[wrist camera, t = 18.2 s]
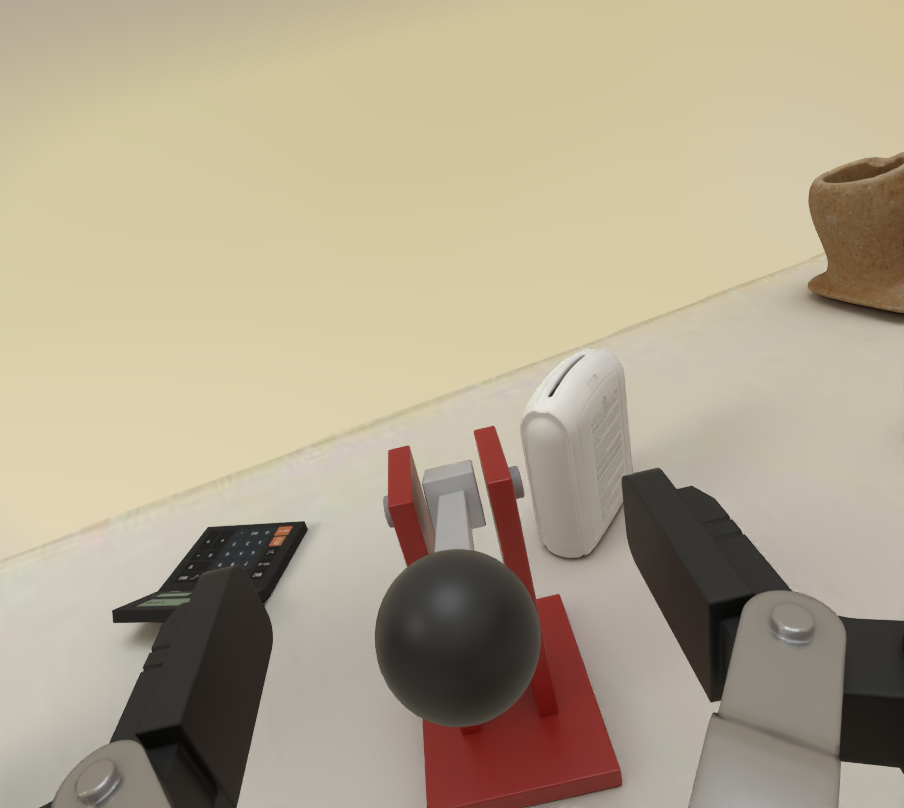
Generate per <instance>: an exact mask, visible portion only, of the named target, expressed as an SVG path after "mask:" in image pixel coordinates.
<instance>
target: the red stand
mask: <svg viewBox="0 0 904 808" xmlns="http://www.w3.org/2000/svg"><path fill="white" fill-rule="evenodd" d="M474 436H475V440H476V445H477V449H478V453H479V458H480V462H481V467H482V471H483V475H484V480H485V484H486V489H487V493H488V497H489V502H490V506H491V511H492V515H493V519H494V524H495V528H496V533H497V537H498V541H499V546H500V550H501V555H502V559H503V564H504V565H506V566H507V567H508V568H509V569H510V570H512V571H513V572H514V573H515V574H516V575H517V577H518V578H519V579H520V580H521V581H522V582H523V584H524V585H525V587H526V589H527V590H528V592H529V594H530V596H531V598H532V600H533V602H534V604H535V607H536V610H537V614H538V618H539V624H540V630H541V645H540V654H539V659H538V663H537V667H536V670H535V673H534V675H533V677H532V679H531V681H530V683H529V685H528V687H527V688H526V690H525V691H524V693H523V694H522V696H521V697H520V698H519V699H518V700H517V701H516V702H515V703H514V704H513V705H512V706H511V707H510V708H509V709H508V710H507V711H505V712H504V713H502V714H501V715H499V716H497V717H496V718H494V719H492V720H490V721H487V722H485V723H482V724H478V725H474V726H468V727H447V726H442V725H438V724H434V723H431V722H429V721H427V720H425V719H423V737H424V757H425V776H426V796H427V808H523V807H527V806H532V805H536V804H541V803H545V802H549V801H554V800H558V799H563V798H567V797H572V796H576V795H581V794H585V793H590V792H594V791H599V790H603V789H608V788H612V787H617V786H621V785H622V778H621V771H620V767H619V764H618V762H617V759H616V756H615V753H614V750H613V747H612V744H611V741H610V739H609V736H608V733H607V730H606V727H605V724H604V721H603V718H602V715H601V713H600V710H599V707H598V704H597V701H596V698H595V695H594V692H593V689H592V687H591V684H590V681H589V678H588V675H587V672H586V669H585V666H584V663H583V661H582V658H581V655H580V652H579V649H578V646H577V643H576V640H575V637H574V635H573V632H572V629H571V626H570V623H569V620H568V617H567V614H566V612H565V609H564V606H563V603H562V600H561V597H560V595H559V594H557V595H553V596H548V597H544V598H540V599H536V596H535V591H534V586H533V581H532V577H531V572H530V567H529V562H528V557H527V552H526V547H525V542H524V537H523V532H522V527H521V522H520V517H519V512H518V507H517V502H516V499H518V498H523V497H524V489H523V484H522V480H521V476H520V473H519V470H518V467H517V466H513V467H508V465H507V462H506V459H505V456H504V453H503V450H502V447H501V444H500V441H499V438H498V435H497V432H496V429H495V427H494V426H491V427H486V428H482V429H478V430H475V431H474ZM383 504H384V511H385V515H386V519H387V522H388V525H389V526H390V527H391V528H392V527H394V528H395V531H396V534H397V537H398V540H399V543H400V546H401V549H402V552H403V555H404V558H405V562H406V565H407V567H408V566H410V565H411V564H412V563H414V562H415V561H417V560H418V559H420V558H422V557H424V556H427V555H429V554H432V553H434V551H435V539H436V537H435V536H434V532H433V527H432V523H431V519H430V516H429V512H428V509H427V505H426V502H425V498H424V495H423V491H422V488H421V484H420V481H419V477H418V474H417V471H416V467H415V464H414V460H413V457H412V453H411V450H410V447H409V446H404V447H400V448H396V449H391V450H389V451H388V496H384V499H383Z"/></svg>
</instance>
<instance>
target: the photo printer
mask: <svg viewBox="0 0 904 808" xmlns="http://www.w3.org/2000/svg"><path fill="white" fill-rule="evenodd" d="M520 433H521V439H522V445H523V451H524V456H525V462H526V468H527V473H528V480H529V485H530V490H531V496H532V501H533V506H534V512H535V518H536V523H537V528H538V533H539V537H540V540H541V543H542V544H545V545H546V546H547V548H548V549H549V550H550V551H551V552H552V553H554V554H556V555H558V556H562V557H567V558H577V557H581V556H582V555H583V554H584V555H587V554H589V553H590V552H591V551H592V550H593V549H594V547H595V546H596V545H597V544H598V542H599V541H600V539H601V537H602V536H603V534H604V533H605V531H606V530H607V528H608V526H609V525H610V523H611V521H612V520H613V518H614V516H615V515H616V513H617V511H618V510H619V508H620V506H621V505H622V503H623V494H622V483H621V482H622V477H623V476H625V475H629V474H633V468H632V458H631V447H630V435H629V424H628V413H627V401H626V390H625V377H624V371H623V367H622V365H621V363H620V361H619V360H618V358H617V357H616V356H615V355H614V354H613V353H611V352H610V351H609V350H607V349H600V350H595V349H591V348H590V349H584V350H581V351H579V352H577V353H575V354H573V355H571V356H569V357H568V358H566V359H565V360H563V361H562V362H561V363H560V364H559V365H557V366H556V367H555V368H554V369H553V370H552V371H551V372H550V373H549V375H548V376H547V377H546V378H545V379H544V380H543V382H542V383H541V384H540V386H539V387H538V388H537V390H536V391H535V393H534V394H533V396H532V398H531V399H530V401H529V403H528V405H527V407H526V409H525V412H524V414H523V417H522V421H521V425H520Z"/></svg>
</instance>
